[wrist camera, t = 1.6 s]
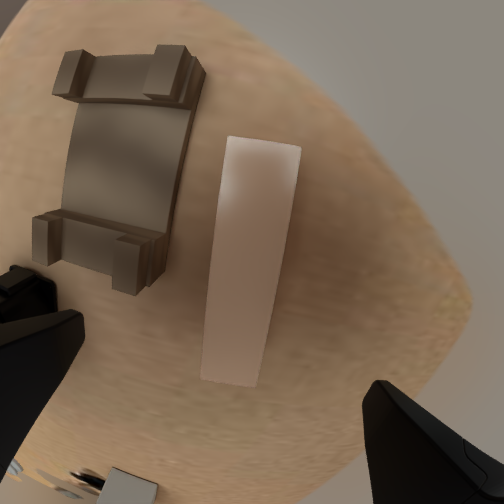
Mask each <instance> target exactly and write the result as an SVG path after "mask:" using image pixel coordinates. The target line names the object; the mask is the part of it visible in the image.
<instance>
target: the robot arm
mask: <svg viewBox="0 0 504 504" xmlns="http://www.w3.org/2000/svg"><path fill="white" fill-rule="evenodd" d="M9 270H10V271H9V272H7V273H5V274H3V275H1V276H0V483H1V480H2V479H3V477H4V475H5V473H6V471H7V469H8V467H9V465H10V464H11V462H12V460H13V458H14V456H15V455H16V453H17V451H18V449H19V448H20V446H21V444H22V442H23V441H24V439H25V437H26V436H27V434H28V432H29V431H30V429H31V427H32V426H33V424H34V423H35V421H36V419H37V418H38V416H39V415H40V413H41V412H42V410H43V408H44V407H45V405H46V404H47V402H48V401H49V399H50V398H51V396H52V395H53V393H54V392H55V390H56V389H57V387H58V386H59V384H60V383H61V381H62V380H63V378H64V377H65V375H66V373H67V372H68V370H69V368H70V366H71V364H72V362H73V360H74V359H75V357H76V355H77V353H78V351H79V350H80V348H81V346H82V344H83V343H84V340H85V328H84V317H83V314H82V313H81V312H78V311H76V310H73V309H69V310H65V311H60V312H57V303H56V289H55V284H54V283H53V281H51V280H48V279H46V278H44V277H41V276H39V275H37V274H35V273H34V272H31V271H29V270H27V269H24V268H22V267H18V266H16V265H12V266H10V268H9ZM362 411H363V424H364V440H365V449H366V455H367V461H368V468H369V474H370V480H371V489H372V496H373V504H504V464H502V463H500V462H499V461H497V460H495V459H493V458H492V457H490V456H489V455H487V454H486V453H484V452H482V451H481V450H479V449H478V448H476V447H475V446H474V445H472V444H471V443H469V442H468V441H466V440H465V439H462V437H461V436H460V435H458V434H457V433H456V432H454V431H453V430H452V429H450V428H449V427H448V426H446V425H445V424H444V423H442V422H441V421H440V420H438V419H437V418H436V417H434V416H433V415H432V414H430V413H429V412H428V411H426V410H425V409H424V408H422V407H421V406H420V405H418V404H417V403H416V402H415V401H413V400H412V399H411V398H409V397H408V396H407V395H405V394H404V393H403V392H402V391H400V390H399V389H398V388H396V387H395V386H394V385H392V384H391V383H390V382H388V381H386V380H375V381H374V382H373V383H372V385H371V387H370V389H369V390H368V392H367V394H366V395H365V397H364V399H363V402H362Z"/></svg>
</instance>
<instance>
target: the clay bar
mask: <svg viewBox="0 0 504 504" xmlns="http://www.w3.org/2000/svg"><path fill="white" fill-rule="evenodd" d="M301 150H302V147H299V146H294V145H288V144H282V143H276V142H270V141H264V140H257V139H250V138H242V137H235V136H228V139H227V145H226V152H225V158H224V165H223V171H222V178H221V185H220V192H219V200H218V207H217V214H216V222H215V230H214V238H213V246H212V255H211V264H210V273H209V282H208V291H207V301H206V312H205V322H204V334H203V345H202V358H201V371H200V379H202V380H207V381H213V382H218V383H224V384H230V385H237V386H244V387H251V388H256V384H257V380H258V376H259V371H260V367H261V362H262V358H263V353H264V349H265V344H266V339H267V335H268V330H269V325H270V320H271V315H272V310H273V306H274V301H275V296H276V291H277V286H278V280H279V275H280V270H281V265H282V260H283V254H284V249H285V244H286V238H287V233H288V227H289V221H290V216H291V210H292V204H293V199H294V193H295V187H296V181H297V175H298V168H299V162H300V156H301Z"/></svg>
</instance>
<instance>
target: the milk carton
mask: <svg viewBox="0 0 504 504" xmlns="http://www.w3.org/2000/svg"><path fill="white" fill-rule="evenodd" d="M156 491H157V484H154V483H151V482H148V481H146V480H143V479H140V478H137V477H135V476H132V475H130V474H127V473H125V472H122V471H120V470H117V469H115V468H113V467H112V469H111V471H110V473H109V475H108V477H107V480H106V482H105V484H104V486H103V489H102V491H101V493H100V495H99V498H98V500H97V502H96V504H154V501H155V498H156Z"/></svg>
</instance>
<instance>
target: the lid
mask: <svg viewBox="0 0 504 504" xmlns="http://www.w3.org/2000/svg"><path fill="white" fill-rule="evenodd" d="M7 471H9V472H10V473H12V474H13V475H17V472H18V471H19V472H22V471H23V468H22V466H21V465H20V464H19V463H18V462H17V461H16V460H15V459H14V458H13V460H12V462H11V464H10V465H9V467H8V469H7Z"/></svg>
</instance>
